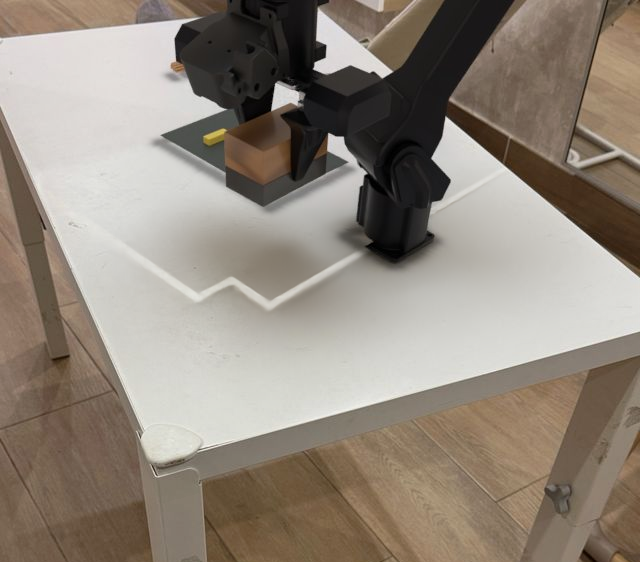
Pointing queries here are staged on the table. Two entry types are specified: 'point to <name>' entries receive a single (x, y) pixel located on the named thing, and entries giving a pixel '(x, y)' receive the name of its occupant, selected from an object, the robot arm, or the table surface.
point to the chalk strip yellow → (214, 137)
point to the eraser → (266, 158)
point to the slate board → (215, 154)
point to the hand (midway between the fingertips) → (277, 169)
